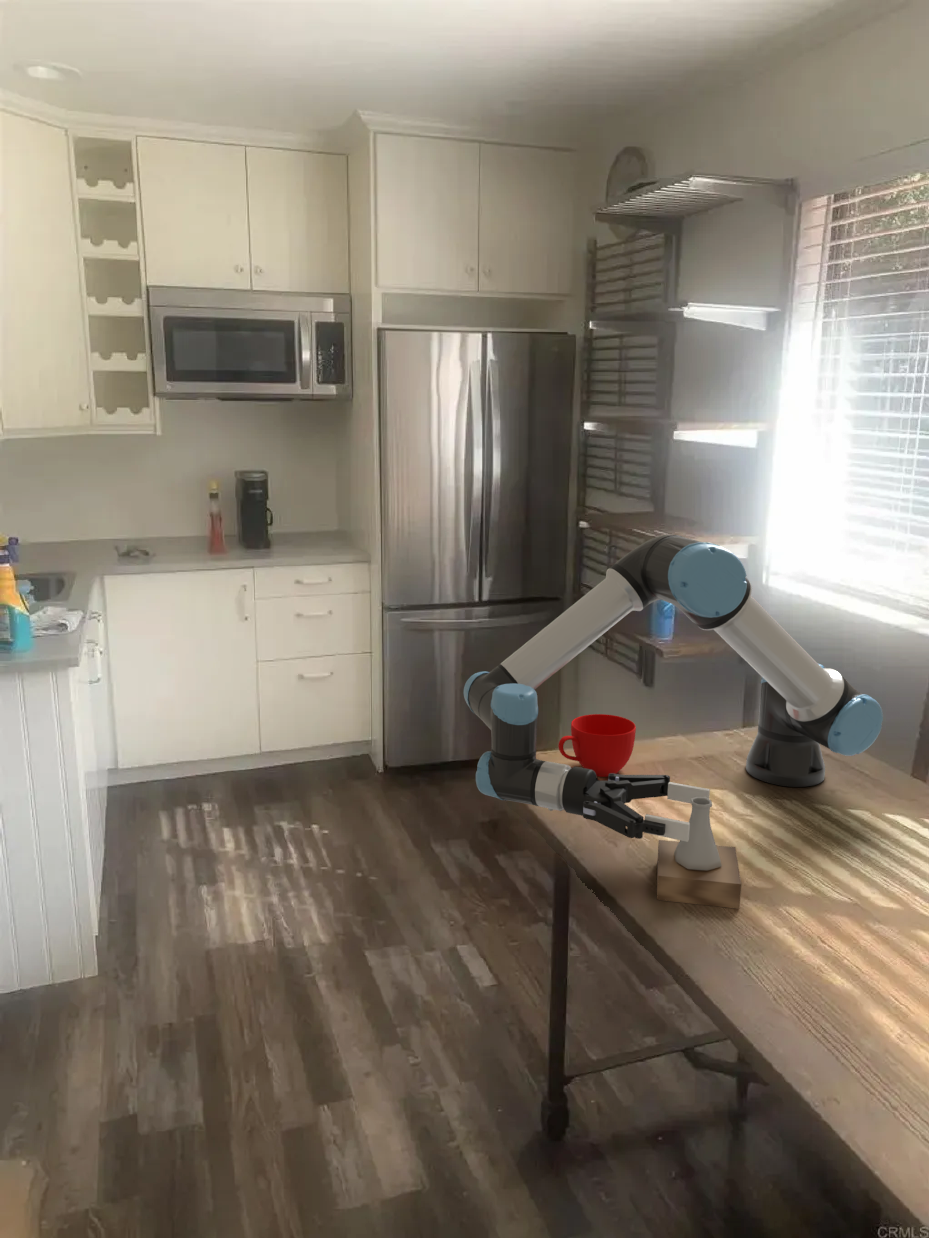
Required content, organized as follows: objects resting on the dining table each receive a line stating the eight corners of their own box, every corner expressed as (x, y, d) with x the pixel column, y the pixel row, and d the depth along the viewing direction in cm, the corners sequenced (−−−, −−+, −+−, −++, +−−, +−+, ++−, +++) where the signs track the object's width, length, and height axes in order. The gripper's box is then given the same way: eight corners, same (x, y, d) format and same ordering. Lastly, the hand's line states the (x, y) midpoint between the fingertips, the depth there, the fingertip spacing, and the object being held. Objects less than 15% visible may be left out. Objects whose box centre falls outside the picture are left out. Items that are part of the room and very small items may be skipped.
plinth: (733, 869, 148) (735, 847, 147) (739, 908, 136) (741, 884, 135) (657, 862, 150) (658, 839, 149) (656, 899, 138) (658, 875, 138)
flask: (709, 848, 146) (713, 789, 144) (729, 870, 139) (734, 809, 137) (666, 851, 145) (669, 792, 143) (684, 874, 138) (688, 812, 136)
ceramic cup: (541, 768, 189) (542, 722, 186) (608, 755, 196) (610, 710, 194) (576, 791, 178) (578, 742, 175) (646, 776, 185) (649, 729, 183)
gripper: (592, 783, 161) (714, 806, 152) (538, 841, 139) (677, 872, 130) (593, 742, 159) (717, 763, 150) (539, 795, 138) (680, 823, 129)
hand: (699, 814), depth 140 cm, fingers open, 13 cm apart
